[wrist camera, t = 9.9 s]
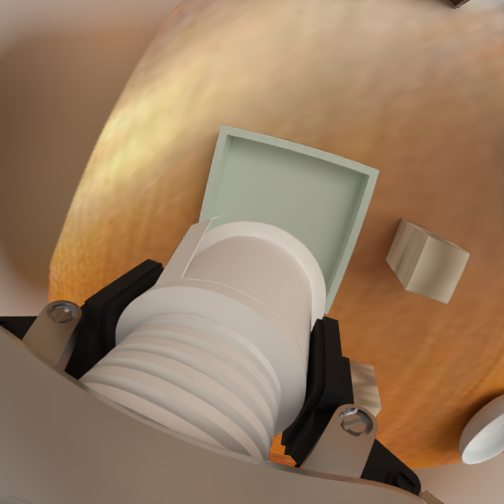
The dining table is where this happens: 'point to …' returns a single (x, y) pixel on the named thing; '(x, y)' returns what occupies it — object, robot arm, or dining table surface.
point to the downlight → (220, 338)
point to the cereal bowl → (484, 433)
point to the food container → (457, 3)
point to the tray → (291, 195)
